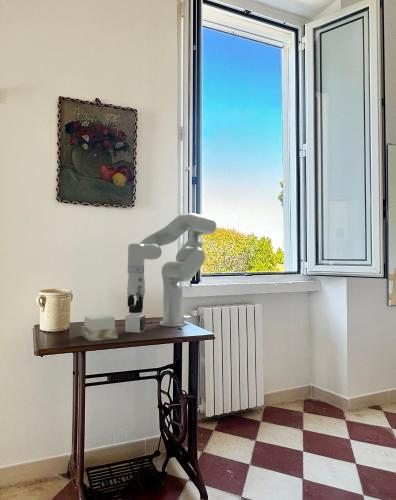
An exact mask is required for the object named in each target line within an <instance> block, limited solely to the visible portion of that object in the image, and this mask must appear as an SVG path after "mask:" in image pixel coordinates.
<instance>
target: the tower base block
mask: <svg viewBox="0 0 396 500" xmlns="http://www.w3.org/2000/svg"><path fill="white" fill-rule="evenodd" d="M81 337H83V338H84V339H85V340H87V341H88V342H97V341H105V340H112V339H113V340H114V339H119V328H118V327H116V326H115V328H114V329H103V330H93V331H91V330H89V329H88V328H86V327H85V325H82V326H81Z"/></svg>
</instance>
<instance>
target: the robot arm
mask: <svg viewBox="0 0 396 500" xmlns="http://www.w3.org/2000/svg"><path fill="white" fill-rule="evenodd" d="M216 222H217V221H215V220H214V219H213V218H212V217H209V216H205V215H202V214H199V213H198V214H197V213H182V214H179V215H177V216H176V217H175V218H174V219H172V221H170V222H169V223H168V224H167V225H166V226H164V227H163V228H161V229H160V230H157V231H156V232H154V233H151V234H150V235H148V236H146V237H145V238H144V239H142V240H141V241H140V242H139V243H129V244H128V247H127V248H128V249H127V274H128V276H127V297H126V298H127V307H128V308H129V306H130V305H135V304H136V309H142V310H143V308H144V297H145V293H146V287H145V286H146V283H145V280H146V279H145V260H151V261H153V260H158V259H159V258H161V256H162V247H163V246H166V245H170V244H172V243H174V242H175V241H177V239H179V238H180V237H181V236H182V235H183V234H185V232H188V239H187V241H186V242H185V243H184V244H183V245H182V247H181V248H180V249H179V250H178V251H177V253H176V255H175V261H173V260H172V261H167V262H166V263H164V264H163V265H162V268H161V277H162V283H163V284H162V285H163V290H162V291H163V298H162V301H163V302H162V303H163V304H162V320H161V321H160V322H159V325H160V326H162V327H166V328H167V327H168V328H169V327H170V328H173V327H176V328H177V327H182V326H185V325H186V322H185V321H189V320H191V319H192V318H191V316H190V315H184V314H183V286H182V283H181V282H189V281H190V280H191V279H193V277H194V276H195V275H197V273H198V271H199V270H200V269H201V267H202V266H203V264H204V263H205V260H206V254H205V251H204V249H202V248H203V245H204V244H203V242H204V241H203V240H202V239H203V238H202V237H203V236H202V235H212V234H214V233H215V232H216V231H217V223H216ZM135 298H136V299H135Z"/></svg>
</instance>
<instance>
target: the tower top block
mask: <svg viewBox="0 0 396 500" xmlns="http://www.w3.org/2000/svg"><path fill="white" fill-rule="evenodd" d="M84 326H85V327H86V328H88V329H89V330H91V331H93V330H103V329H114V328H115V327H116V317H114V316H112V315H110V314H108V313H105V314H91V315H84Z"/></svg>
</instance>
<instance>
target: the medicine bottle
mask: <svg viewBox="0 0 396 500" xmlns="http://www.w3.org/2000/svg"><path fill="white" fill-rule="evenodd" d="M124 318H125V322H124V323H125V324H124V325H125V327H124V328H125V329H124V332H125V333H136V334H140V333H142V332H144V331H145V330H146V315H145V314H143V309H136V303H134V305H130V306H129V307H128V315H126V316H125V317H124Z"/></svg>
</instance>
